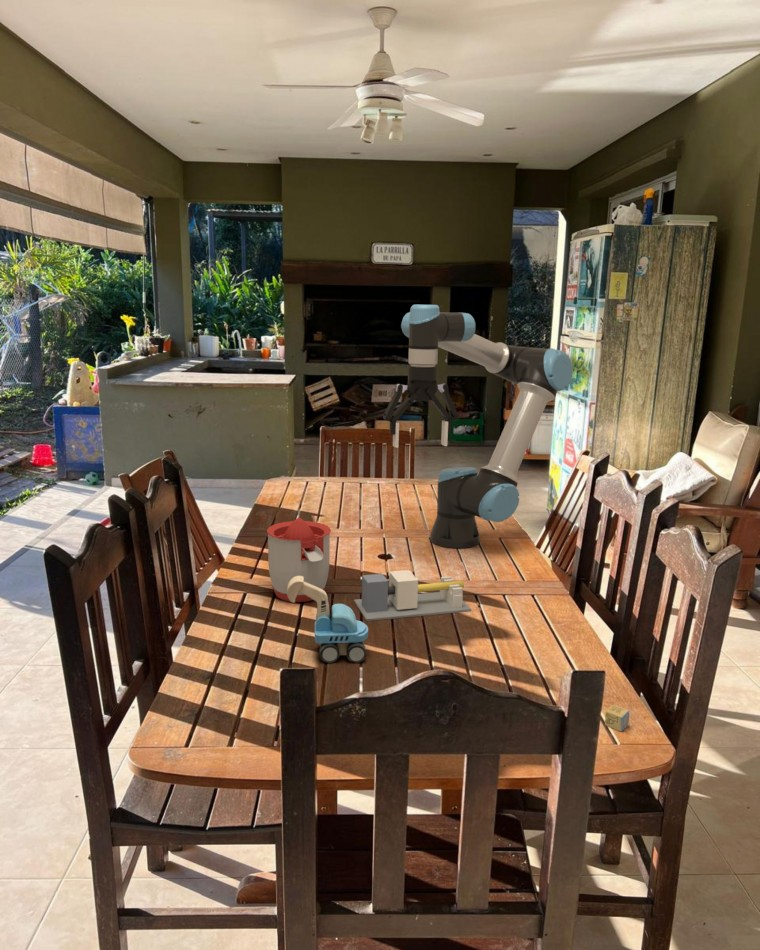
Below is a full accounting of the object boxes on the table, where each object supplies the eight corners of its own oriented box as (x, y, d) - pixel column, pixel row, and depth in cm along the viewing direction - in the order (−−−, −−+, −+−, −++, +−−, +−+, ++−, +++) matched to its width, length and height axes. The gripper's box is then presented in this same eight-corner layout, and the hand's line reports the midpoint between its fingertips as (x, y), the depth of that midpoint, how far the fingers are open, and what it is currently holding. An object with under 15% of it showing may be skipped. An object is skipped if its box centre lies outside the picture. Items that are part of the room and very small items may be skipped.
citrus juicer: (287, 614, 177) (286, 532, 173) (257, 590, 192) (256, 514, 187) (345, 601, 185) (346, 523, 181) (312, 579, 200) (312, 506, 195)
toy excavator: (288, 646, 161) (287, 569, 157) (366, 644, 162) (367, 569, 159) (286, 664, 153) (286, 584, 149) (369, 663, 154) (370, 584, 150)
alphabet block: (620, 732, 131) (622, 716, 130) (604, 725, 133) (605, 710, 132) (628, 725, 133) (630, 710, 133) (611, 719, 135) (613, 703, 135)
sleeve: (408, 596, 186) (409, 570, 185) (417, 607, 180) (418, 580, 178) (388, 598, 185) (389, 571, 184) (397, 609, 179) (397, 581, 177)
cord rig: (453, 592, 192) (454, 562, 191) (471, 611, 181) (473, 579, 179) (354, 601, 185) (354, 570, 184) (366, 621, 174) (367, 588, 172)
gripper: (462, 364, 203) (458, 442, 207) (372, 364, 196) (371, 444, 201) (473, 366, 196) (469, 447, 200) (380, 366, 189) (378, 450, 194)
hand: (420, 446), depth 200 cm, fingers open, 13 cm apart
